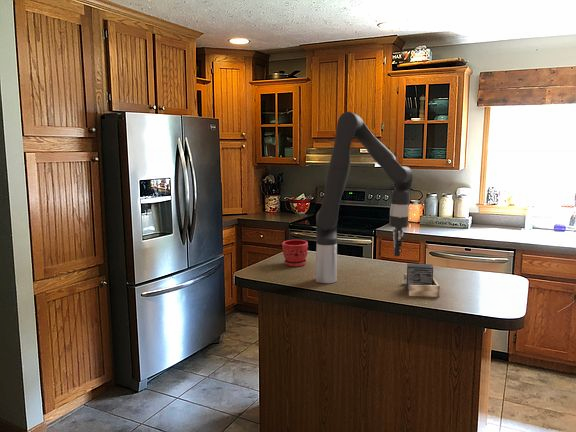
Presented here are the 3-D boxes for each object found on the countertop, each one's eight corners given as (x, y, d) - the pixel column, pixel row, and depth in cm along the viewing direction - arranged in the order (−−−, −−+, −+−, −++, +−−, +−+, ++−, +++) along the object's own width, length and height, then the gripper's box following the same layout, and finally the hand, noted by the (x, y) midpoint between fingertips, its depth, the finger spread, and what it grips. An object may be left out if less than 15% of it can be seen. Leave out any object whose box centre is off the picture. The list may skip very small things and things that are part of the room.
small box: (431, 287, 199) (432, 263, 197) (432, 292, 193) (433, 267, 191) (406, 286, 201) (407, 262, 200) (406, 290, 195) (407, 266, 194)
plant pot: (281, 262, 245) (281, 239, 244) (305, 261, 247) (305, 239, 245) (283, 268, 233) (283, 244, 231) (309, 267, 234) (309, 244, 232)
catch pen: (409, 295, 188) (409, 285, 187) (403, 283, 205) (403, 273, 205) (439, 296, 187) (439, 286, 186) (431, 284, 204) (431, 274, 203)
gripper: (388, 212, 199) (386, 251, 201) (391, 216, 186) (388, 259, 188) (406, 213, 198) (404, 252, 200) (410, 217, 185) (407, 260, 188)
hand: (396, 255), depth 194 cm, fingers closed
